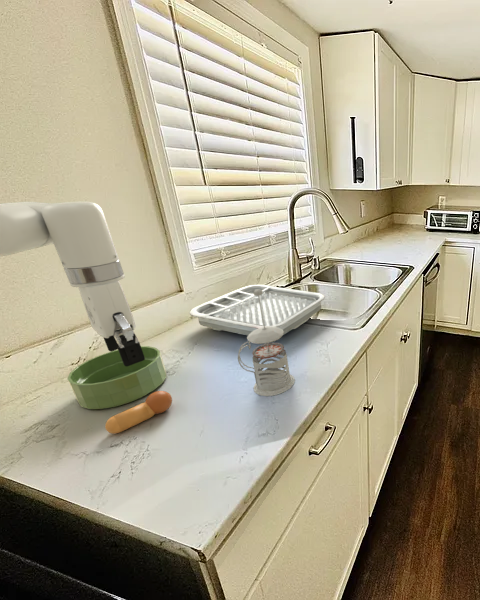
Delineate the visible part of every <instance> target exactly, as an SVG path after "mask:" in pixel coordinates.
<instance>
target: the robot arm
mask: <svg viewBox="0 0 480 600" xmlns="http://www.w3.org/2000/svg"><path fill="white" fill-rule="evenodd" d="M50 245H53V246H54V248H55V251H56V252H57V255H58V258H59V260H60V263H61V266H62V267H63V270H64V273H65V275H66V278H67V280H68V282H69V285H70V286H71V287H73V288H78V290H79V294H80V298H81V300H82V301H81V302H82V303H83V306H84V309H85V311H86V314H87V318H88V321H89V323H90V327H91V328H92V329H93V330H94V331H95V332H96V333H97V334H98V335H99V336H100V337H101V338H103V340H104V343H105V345H106V348H107V351H108V352H111V351H115V350H118V351H119V353H120V356H121V359H122V361H123V364H124V366H130V365H133V364H135V363H138V362H141V361H143V360H145V357H144V354H143V351H142V348H141V346H142V345H141V343H140V341H139V339H138V337H137V335H136V333H135V331H134V330H135V329H136V323H135V319H134V316H133V313H132V310H131V306H130V305H129V302H128V299H127V297H126V294H125V290H124V289H123V286H122V284H121V282H120V281H122V280H123V279H125V277H126V276H125V272H124V270H123V266H122V264H121V260H120V258H119V255H118V252H117V249H116V245H115V243H114V240H113V237H112V234H111V231H110V227H109V225H108V222H107V219H106V217H105V213H104V211H103V208H102V207H101V206H100V205H99V204H97V203H96V202H93V201H86V200H85V201H63V202H51V203H50V202H40V201H16V202H2V203H0V257H7V256H12V255H15V254H19V253H22V252H26V251H30V250H34V249H35V250H36V249H39V248H42V247H43V248H44V247H48V246H50Z"/></svg>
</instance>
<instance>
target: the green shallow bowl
mask: <svg viewBox="0 0 480 600" xmlns="http://www.w3.org/2000/svg"><path fill="white" fill-rule="evenodd" d="M140 346H141V348H142V351H143V354H144V357H145V360H143V361H141V362H138V363H135V364H133V365H130V366H124V364H123V361H122V359H121V356H120V353H119V351H118V349H117V350H114V351H108V352H105V353H102V354H99V355H97V356H95V357H92V358H90V359H88V360H85V361H84V362H83V363H81V364H79V365H77V366H75V367H74V369H72V371H70V372H69V374H68V376H67V378H66V379H67V382H68V384H69V386H70V388H71V391H72V393H73V395H74V397H75V400H76V401H77V403H78V405H79V406H80V407H81V408H85V409H87V410H103V409H110V408H116V407H119V406H123V405H126V404H130V403H132V402H135V401H137V400H139V399H141V398H144V397H145V396H146V395H150V394H151V393H153V391H155V390H156V389H158V388H159V387H160V386H161V385H162V384H163V383H164V382H165V380H166V378H167V369H166V366H165V363H164V360H163V357H162V353H161V350H159V349H158V348H157V347H154V346H149V345H140Z"/></svg>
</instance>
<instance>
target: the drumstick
mask: <svg viewBox="0 0 480 600" xmlns="http://www.w3.org/2000/svg"><path fill="white" fill-rule="evenodd" d="M172 403H173V397H172V395H171V394H170V393H169V392H167V391H165V390H157V391H154V392H151V393H149V394H148V396H147V397H146V399H145V402H142V403H139V404H136V405H135V406H133V407H131V408H128V409H125V410H124V411H121V412H119V413H117V414H115V415H112V416H110V417H109V418H108V419H107V420H106V422H105V425H104V428H105V431H106V432H108V433H109V434H120V433H123V432H124V431H126V430H128V429H130V428H132V427H134V426H137V425H139V424H141V423H142V422H144V421H147V420H149V419H151V418H153V417H154V415H159V414H162V413H165V412H166V411H167V410H169V409H170V407H171V406H172Z"/></svg>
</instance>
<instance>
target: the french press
mask: <svg viewBox="0 0 480 600" xmlns="http://www.w3.org/2000/svg"><path fill="white" fill-rule="evenodd" d="M262 294H263V292H262V290H260V289H256V290H255V291H254V295H255V296H258V298H259V295H262ZM259 303H260V298H259ZM260 309H261V303H260ZM261 314H262V309H261ZM262 320H263V314H262ZM263 325H264V320H263ZM283 333H284V331H283V330H282V329H280V328H278V327H273V326H266V327H265V325H264V327H261V328H259V329H256V330H254V331H253V332H251V333H250V334H249V335H247V336H246V339H247V341H246V342H244V343H242V344H241V346H240V347H239V349H238V354H237V361H238V364H239V366H240V367H241V368H242V369H243V370H245V371H246V372H250V373H253V375H254V380H255V383H254V385H253V392H254V394H256V395H258V396H262V397H273V396H277V395H280V394H284V393H285V392H288V390H290V389H291V388H292V387H293V386H294V384H295V381H296V379H295V377H294V376H293V374H290V373H291V372H290V367H289V361H288V355H287V351H286V349H285V346H284V344H282V343H280V342H276V341H279V340H280V339H281V338H282V337H283V336H284V335H283ZM247 343H248V344H247ZM251 344H253V345H255V344H256V345H258V346H256V347H255V348H254V349H253V350H252V353H251V354H252V364H253V367H252V366H248V365H246V364H245V363H244V362H243V361H242V359H241V352H242V350H244V348H246V347H248V349H249V350H251V348H252V345H251ZM280 356H281V357H280ZM274 358H275V359H274ZM245 367H246V368H245ZM247 368H248V369H247ZM249 369H253V370H249Z"/></svg>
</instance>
